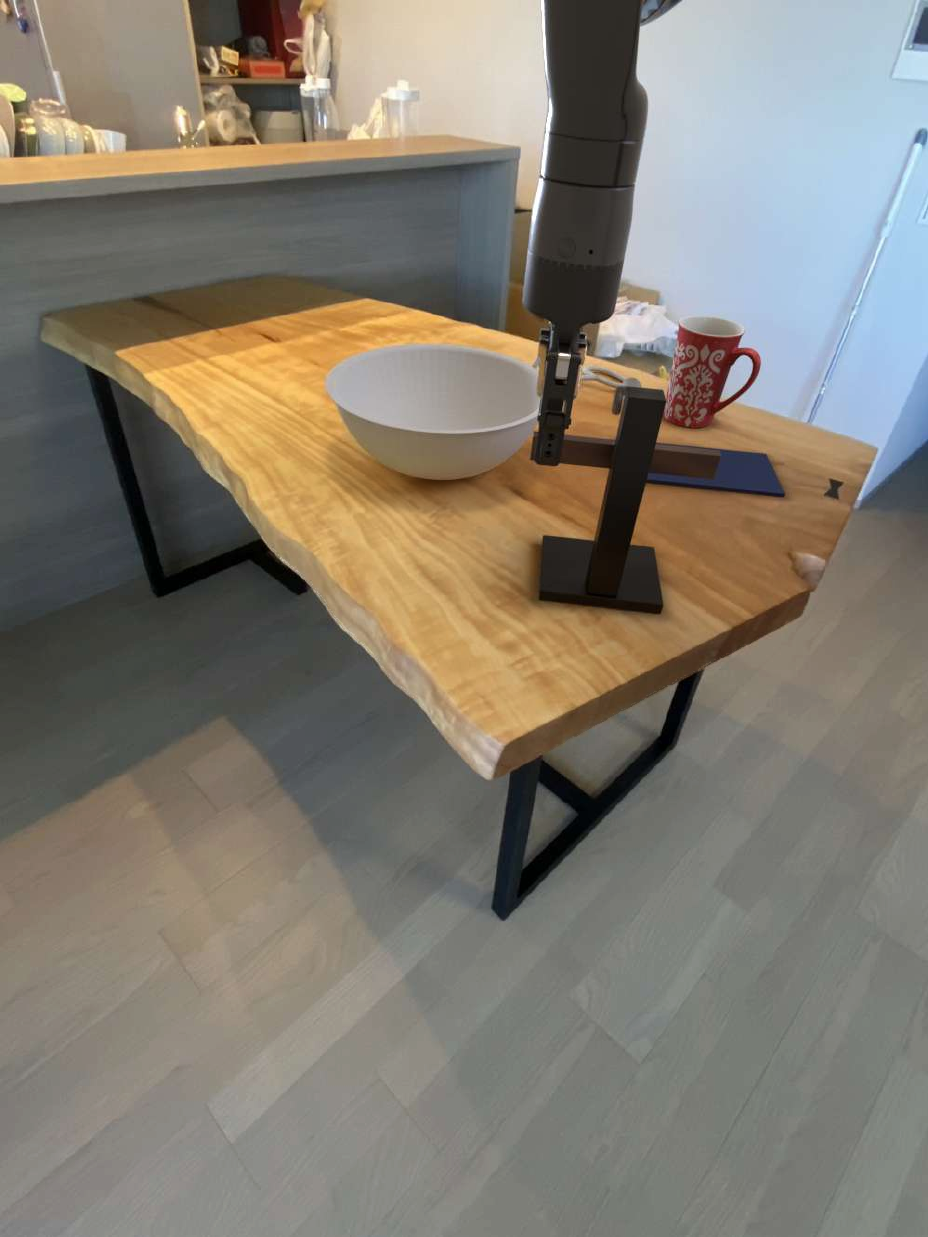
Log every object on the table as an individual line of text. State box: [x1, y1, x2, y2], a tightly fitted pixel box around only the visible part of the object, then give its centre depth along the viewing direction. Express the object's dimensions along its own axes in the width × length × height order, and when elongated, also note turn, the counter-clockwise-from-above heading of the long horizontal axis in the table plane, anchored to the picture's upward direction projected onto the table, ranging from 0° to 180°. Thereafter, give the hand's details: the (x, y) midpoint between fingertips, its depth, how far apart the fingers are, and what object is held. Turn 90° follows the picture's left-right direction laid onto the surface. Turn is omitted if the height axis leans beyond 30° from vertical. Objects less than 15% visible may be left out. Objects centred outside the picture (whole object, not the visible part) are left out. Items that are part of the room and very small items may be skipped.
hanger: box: [529, 386, 721, 479], centre depth 62 cm, size 17×1×8 cm, turn 83°
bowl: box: [324, 343, 540, 481], centre depth 86 cm, size 27×27×10 cm
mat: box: [646, 442, 786, 498], centre depth 91 cm, size 20×11×1 cm, turn 83°
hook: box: [531, 357, 629, 389], centre depth 108 cm, size 7×9×20 cm
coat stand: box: [538, 377, 666, 615], centre depth 65 cm, size 12×10×21 cm
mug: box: [663, 315, 762, 429], centre depth 98 cm, size 13×9×14 cm
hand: (547, 442), depth 64 cm, fingers open, 8 cm apart
